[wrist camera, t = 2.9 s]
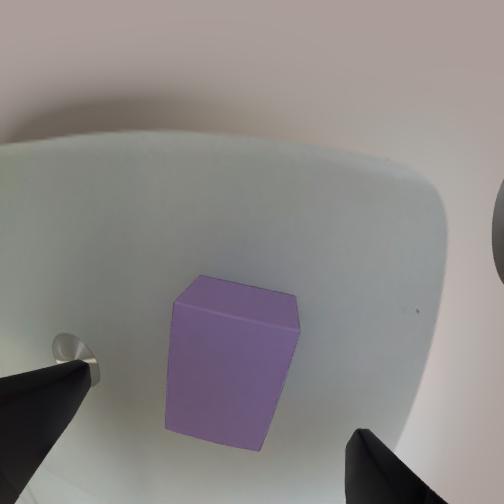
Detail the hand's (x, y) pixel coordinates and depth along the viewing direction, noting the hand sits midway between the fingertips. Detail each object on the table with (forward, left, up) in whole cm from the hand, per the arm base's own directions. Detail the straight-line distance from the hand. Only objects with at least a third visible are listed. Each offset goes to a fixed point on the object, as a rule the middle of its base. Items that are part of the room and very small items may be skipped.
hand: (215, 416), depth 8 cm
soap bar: (0, 0, -5) cm, 5 cm away
